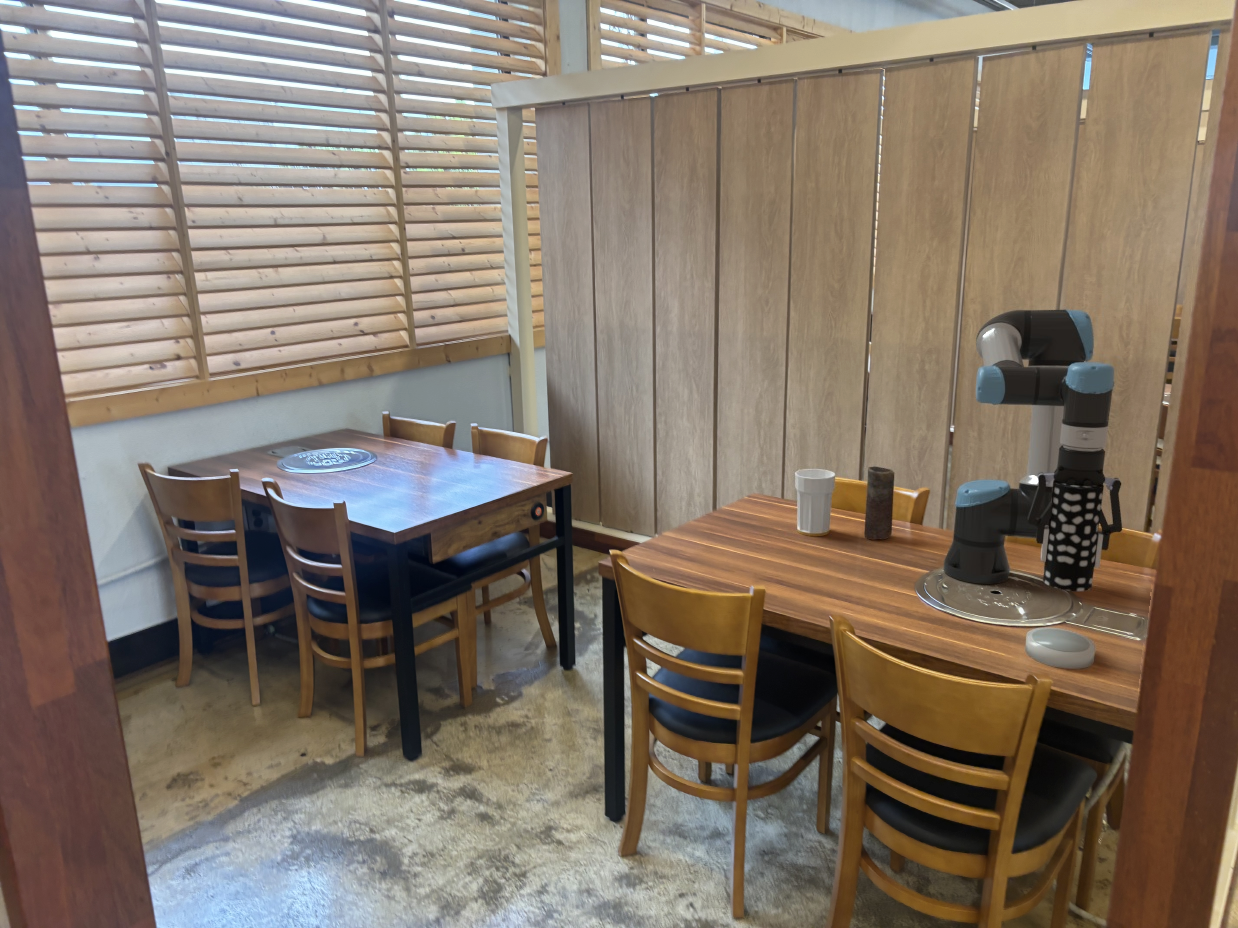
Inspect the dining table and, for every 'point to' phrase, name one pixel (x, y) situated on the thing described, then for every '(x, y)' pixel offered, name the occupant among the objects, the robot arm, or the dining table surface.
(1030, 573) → the dining table surface
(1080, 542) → the spotted tube
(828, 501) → the cup
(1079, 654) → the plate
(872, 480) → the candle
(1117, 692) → the dining table surface
